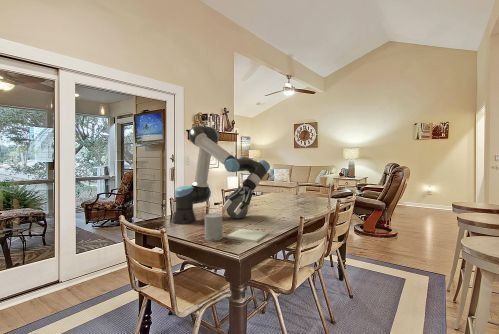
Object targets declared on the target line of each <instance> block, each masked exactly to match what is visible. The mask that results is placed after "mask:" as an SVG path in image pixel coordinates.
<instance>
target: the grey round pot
mask: <svg viewBox="0 0 499 334" xmlns="http://www.w3.org/2000/svg"><path fill="white" fill-rule="evenodd" d="M229 195H230V194H228V195H225V196H224V201H225V203H226V202H227V200H228V198H227V197H228V196H229ZM242 201H243V196H239V197H237V198H236V199H234V200H233V201H232V203H231V204H230V205H229V207H228V208H227V209H226V211H225V212H226V213H227V215H228V216H229V217H230V218H232V219H242V218H245V217H247V215H248V213H249V205H245V206H244V207H243V209H242V210H241V211H240V213H239V214H238V215H237V214H236V213H235V212H234V211H235V210H236V208H237V207H238V206H239V204H240V203H241V202H242Z"/></svg>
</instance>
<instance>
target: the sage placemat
mask: <svg viewBox="0 0 499 334" xmlns="http://www.w3.org/2000/svg"><path fill="white" fill-rule="evenodd" d="M268 235H269V232H267V231H260V230H259V231H258V230H253V229H244V228H239V229H236V230H235V231H233V232H231V233H229V234H227V235H226V236H225V238H226V239H230V240H231V239H232V240H237V241H245V242H252V243H258V242H259V241H261V240H262V239H264V238H265V237H266V236H268Z"/></svg>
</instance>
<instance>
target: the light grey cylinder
mask: <svg viewBox="0 0 499 334" xmlns="http://www.w3.org/2000/svg"><path fill="white" fill-rule="evenodd" d="M204 239H205V240H206V241H210V242H213V241H214V242H215V241H220V240H222V239H223V214H222V213H207V214H205V215H204Z"/></svg>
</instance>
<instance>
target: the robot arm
mask: <svg viewBox="0 0 499 334" xmlns="http://www.w3.org/2000/svg"><path fill="white" fill-rule="evenodd" d="M188 138H189V140H190V142H191V144H193V145H195V146H196V147H198V154H197V155H198V156H197V162H196V171H195V176H194V181H193V182H192V183H191V185H183V186H179V187H177V188H175V191H174V201H175V202H174V204H175V209H174V210H175V211H174V213H173V217H172V223H173V224H177V225H188V224H192V223H195V222H197V217H196V215H195V211H194V205H196V204H203V203H205V202H207V201H209V200H210V198H211V195H212V191H211V188H210V187H209V184H208V177H209V171H210V165H211V159H212V157H213V158H215V160H217V161H218V162H220V163H221V164H222V165H224V168H225V170H226V171H227V172H229V173H237V172H245V171H246V172H249V175H248V176H247V177H246V179H245V180H244V181H243V182H242V187H241V186H240V185H239V186H238V187H237V188H236V189H234V191H233V192H232V193H230V194H228V195H229V196H228V197H227V198H228V200H227V202H226V201H225V202H224V203H223V206H221V209H223V210H224V211H225V212H227V211H226V209H227V208H228V207H229V205H230V204H231V203H232V201H233V200H234V199H236V198H237V197H239V196H243V201H242V202H241V203H240V204H239V206H238V207H237V208H236V210H235V211H234V212H235V213H236V214H237V215H238V214H239V213H240V211H241V210H242V209H243V207H244V206H245V205H248V206H249V205H250V204H251V200H252V198H253V196H254V195H253V194H254V193H255V189H256V188H257V186H258V185H259V184H260V183H261V181H262V180H263V179H264V177H265V176H266V175H267V174H268V173H269V170H270V169H271V164H270V163H269V162H268V161H266V160H265V159H260V161H255V160H254V159H251V158H250V157H248V156H247V157H246V156H242V155H241V157H239V158H237V157H235V156H234V155H233V154H231V153H230V152H229V151H227V150H226V149H224V148H223V147H222V146H220V145H219V144H218V143H219V140H220V132H219V131H218V130H217V128H215V127H212V126H206V125H205V126H204V125H194V126H193V127H191V128H190V130H189V132H188Z"/></svg>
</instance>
